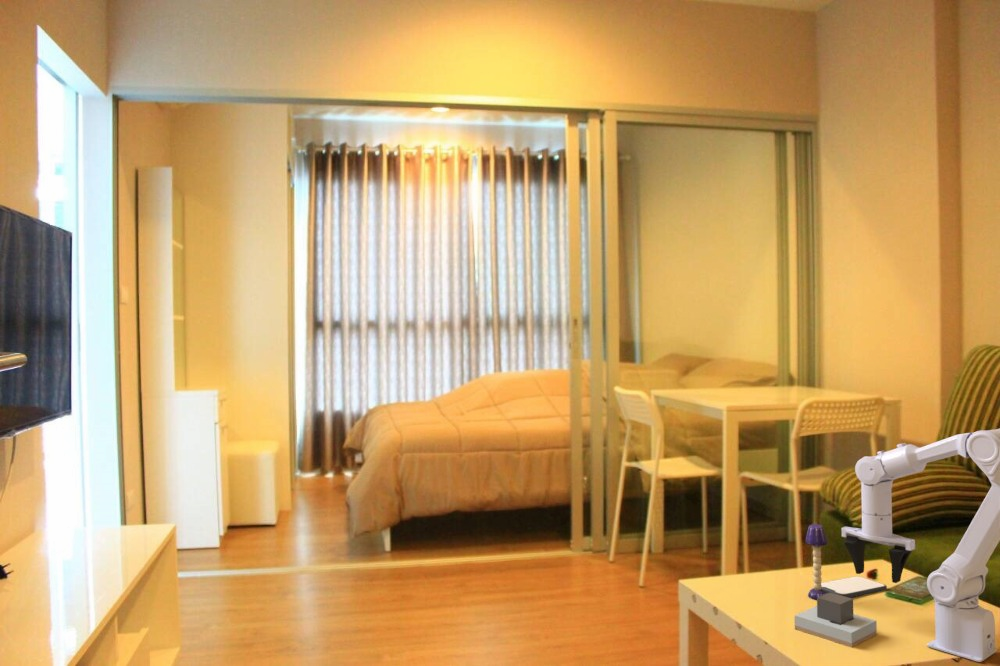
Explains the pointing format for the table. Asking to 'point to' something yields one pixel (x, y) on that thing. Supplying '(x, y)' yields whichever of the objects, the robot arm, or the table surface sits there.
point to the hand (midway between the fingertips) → (877, 577)
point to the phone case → (853, 587)
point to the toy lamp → (816, 558)
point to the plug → (835, 608)
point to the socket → (836, 628)
